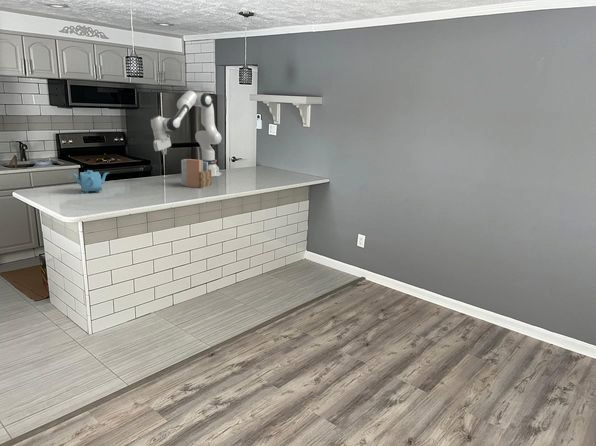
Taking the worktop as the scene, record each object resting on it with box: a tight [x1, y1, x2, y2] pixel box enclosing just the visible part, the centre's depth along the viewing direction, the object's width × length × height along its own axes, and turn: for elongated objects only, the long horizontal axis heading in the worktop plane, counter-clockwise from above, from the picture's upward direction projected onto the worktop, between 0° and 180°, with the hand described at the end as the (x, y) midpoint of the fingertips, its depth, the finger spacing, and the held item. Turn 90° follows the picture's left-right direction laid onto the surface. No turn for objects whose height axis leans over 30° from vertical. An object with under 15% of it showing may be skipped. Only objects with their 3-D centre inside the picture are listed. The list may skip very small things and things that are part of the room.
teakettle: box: [70, 169, 109, 194], centre depth 310 cm, size 19×19×15 cm
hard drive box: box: [180, 158, 203, 187], centre depth 348 cm, size 16×8×20 cm, turn 75°
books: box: [186, 158, 208, 189], centre depth 348 cm, size 16×10×21 cm, turn 166°
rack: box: [199, 169, 213, 189], centre depth 348 cm, size 18×2×12 cm, turn 166°
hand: (164, 154), depth 352 cm, fingers closed
